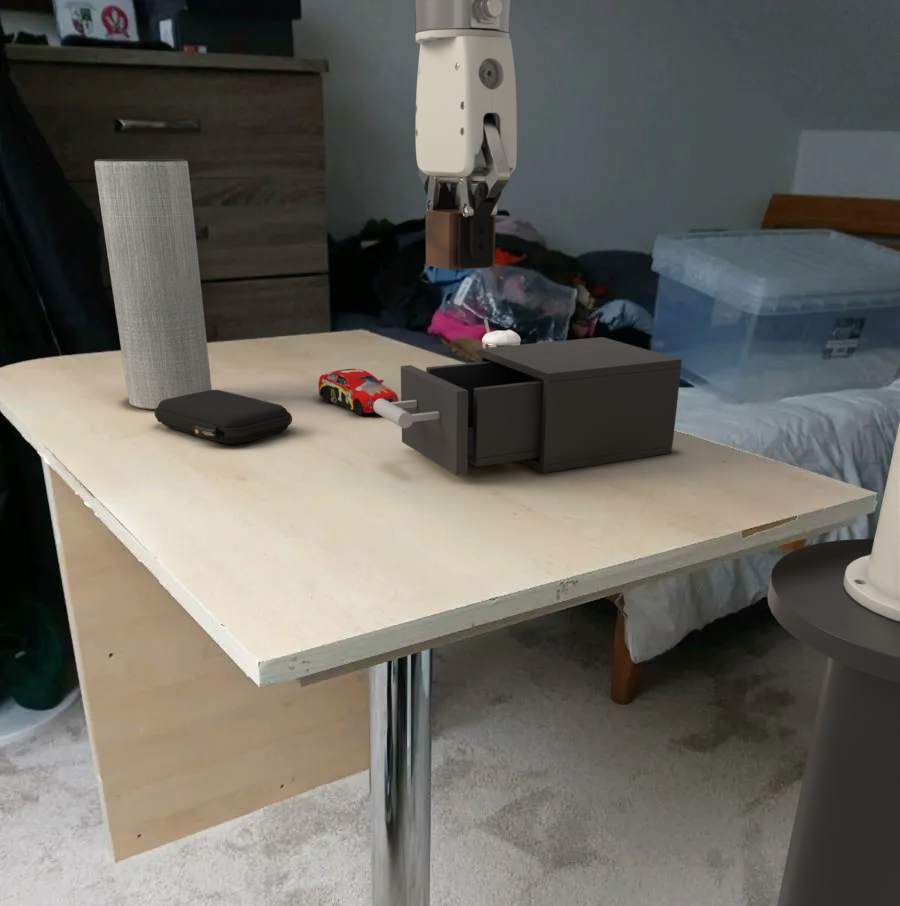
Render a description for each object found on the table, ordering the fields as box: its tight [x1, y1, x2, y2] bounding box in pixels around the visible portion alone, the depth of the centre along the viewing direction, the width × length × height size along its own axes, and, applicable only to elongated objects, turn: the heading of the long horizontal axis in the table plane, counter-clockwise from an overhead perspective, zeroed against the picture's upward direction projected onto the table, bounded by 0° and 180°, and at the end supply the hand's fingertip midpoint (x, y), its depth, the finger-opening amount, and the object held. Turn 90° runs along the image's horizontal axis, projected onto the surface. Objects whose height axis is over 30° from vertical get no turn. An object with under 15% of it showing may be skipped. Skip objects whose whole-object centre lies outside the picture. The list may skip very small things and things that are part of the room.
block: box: [425, 208, 497, 271], centre depth 82 cm, size 4×4×4 cm
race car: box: [318, 368, 399, 416], centre depth 114 cm, size 13×5×4 cm, turn 35°
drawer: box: [373, 361, 544, 476], centre depth 93 cm, size 19×12×8 cm, turn 117°
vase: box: [94, 158, 213, 411], centre depth 111 cm, size 10×10×27 cm
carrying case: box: [153, 389, 293, 445], centre depth 104 cm, size 11×3×15 cm
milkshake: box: [481, 318, 522, 348], centre depth 112 cm, size 5×5×10 cm
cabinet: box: [478, 336, 683, 474], centre depth 98 cm, size 16×14×10 cm
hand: (460, 261), depth 83 cm, fingers closed on block, 4 cm apart
